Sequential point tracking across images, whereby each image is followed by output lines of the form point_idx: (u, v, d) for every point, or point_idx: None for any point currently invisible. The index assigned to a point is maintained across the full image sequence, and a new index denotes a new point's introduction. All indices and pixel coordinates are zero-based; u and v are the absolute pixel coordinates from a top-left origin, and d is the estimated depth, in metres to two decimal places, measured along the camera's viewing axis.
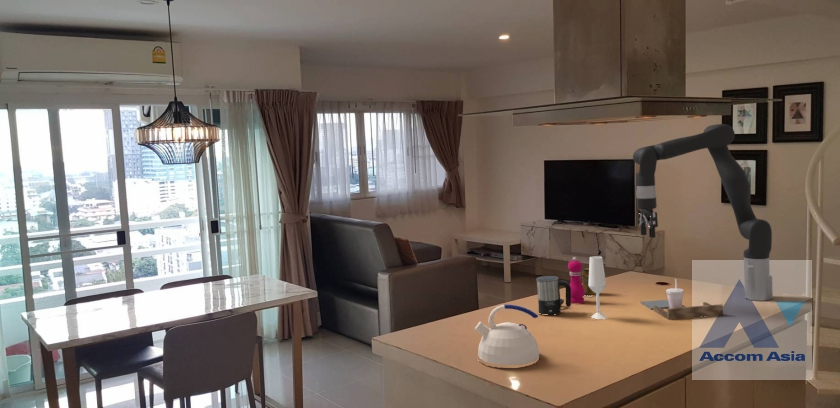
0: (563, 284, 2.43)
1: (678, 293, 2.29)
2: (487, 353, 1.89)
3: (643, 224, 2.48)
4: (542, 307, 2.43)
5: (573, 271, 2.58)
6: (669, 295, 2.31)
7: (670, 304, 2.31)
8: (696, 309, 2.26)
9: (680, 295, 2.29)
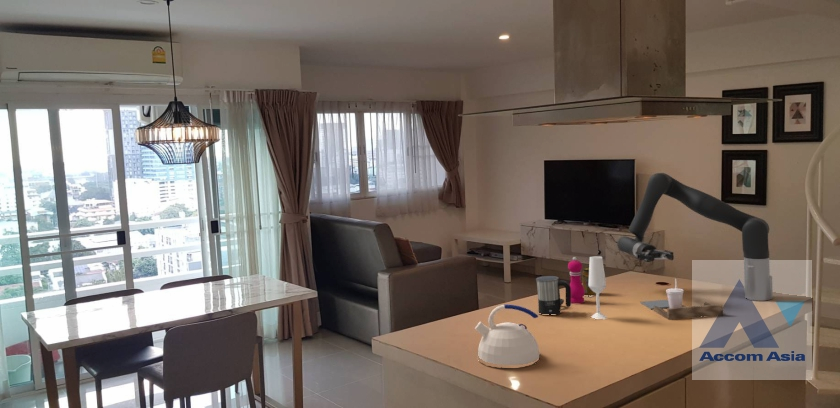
0: (563, 284, 2.43)
1: (678, 293, 2.29)
2: (487, 353, 1.89)
3: (666, 255, 2.46)
4: (542, 307, 2.43)
5: (573, 271, 2.58)
6: (669, 295, 2.31)
7: (670, 304, 2.31)
8: (696, 309, 2.26)
9: (680, 295, 2.29)
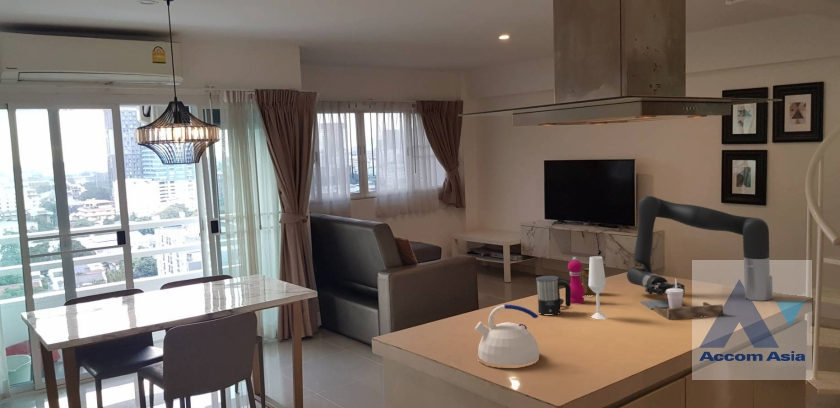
0: (563, 284, 2.44)
1: (678, 293, 2.29)
2: (487, 353, 1.89)
3: None
4: (542, 306, 2.44)
5: (573, 271, 2.58)
6: (669, 295, 2.31)
7: (670, 304, 2.31)
8: (696, 309, 2.26)
9: (680, 295, 2.29)
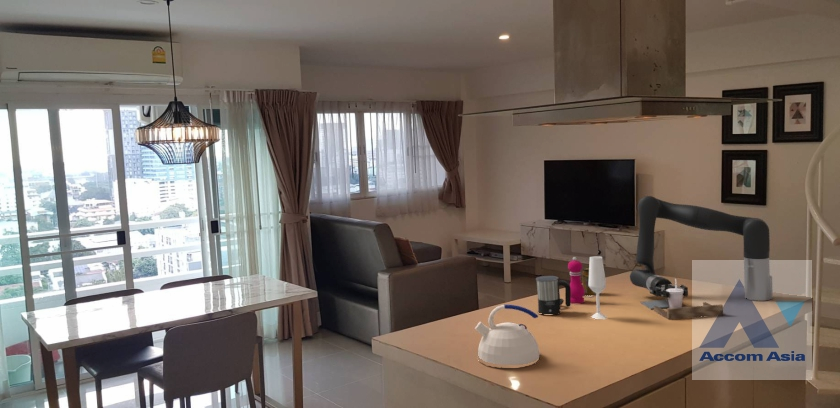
0: (563, 284, 2.44)
1: (678, 293, 2.29)
2: (487, 353, 1.89)
3: None
4: (542, 306, 2.44)
5: (573, 271, 2.58)
6: None
7: (670, 304, 2.31)
8: (696, 309, 2.26)
9: (680, 295, 2.29)
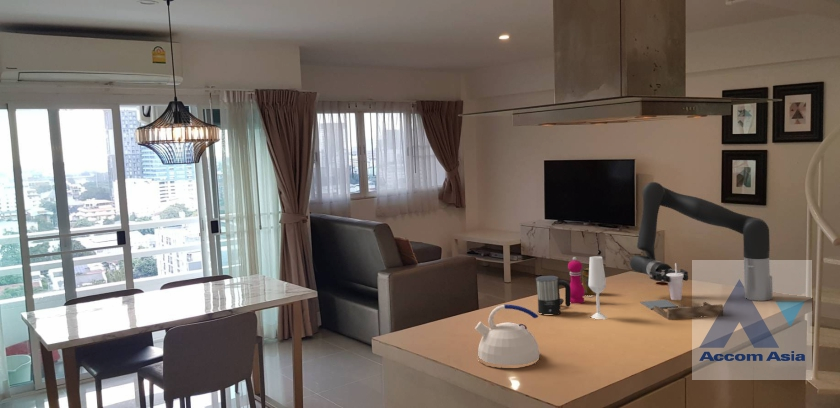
0: (563, 284, 2.44)
1: (678, 277, 2.28)
2: (487, 353, 1.89)
3: None
4: (542, 306, 2.44)
5: (573, 271, 2.58)
6: None
7: (670, 289, 2.31)
8: (696, 309, 2.26)
9: (680, 279, 2.28)
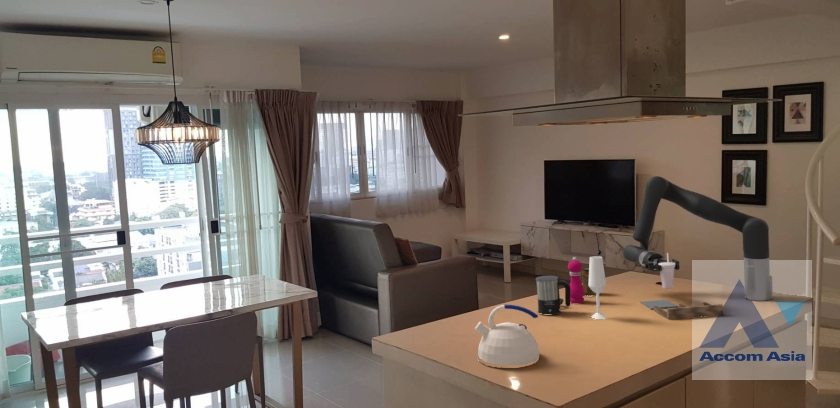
0: (562, 284, 2.44)
1: (670, 266, 2.34)
2: (487, 353, 1.89)
3: None
4: (542, 306, 2.44)
5: (573, 271, 2.58)
6: None
7: (662, 277, 2.37)
8: (696, 309, 2.26)
9: (672, 268, 2.35)
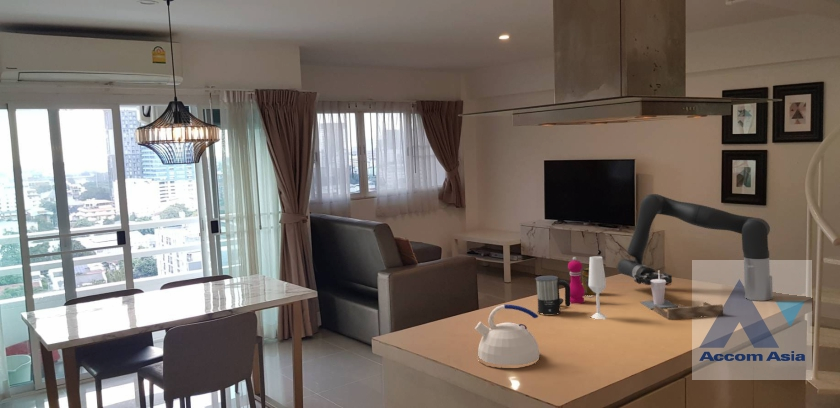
0: (562, 284, 2.44)
1: (661, 283, 2.43)
2: (487, 353, 1.89)
3: (665, 278, 2.49)
4: (541, 306, 2.44)
5: (573, 271, 2.58)
6: (652, 285, 2.46)
7: (653, 294, 2.46)
8: (696, 309, 2.26)
9: (662, 285, 2.44)
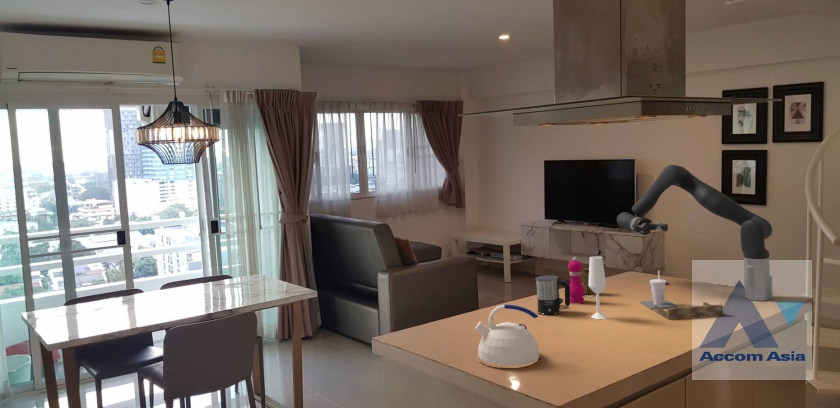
0: (562, 283, 2.44)
1: (661, 283, 2.44)
2: (487, 353, 1.89)
3: (661, 227, 2.61)
4: (541, 306, 2.45)
5: (573, 271, 2.58)
6: (652, 285, 2.46)
7: (653, 294, 2.46)
8: (696, 309, 2.26)
9: (662, 285, 2.44)
